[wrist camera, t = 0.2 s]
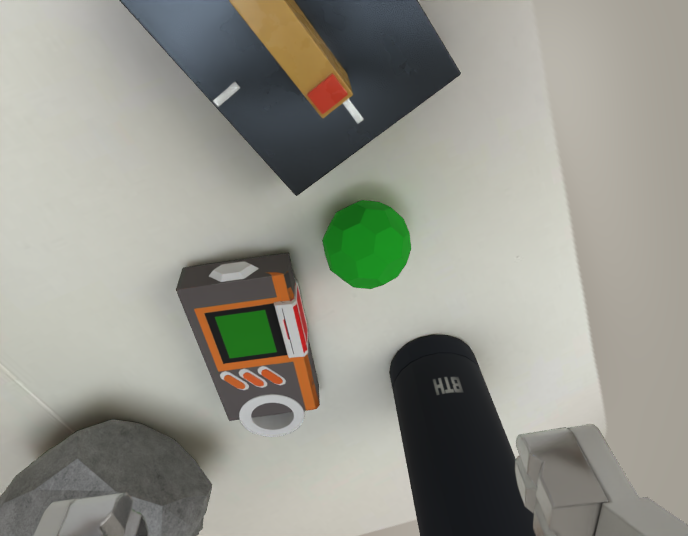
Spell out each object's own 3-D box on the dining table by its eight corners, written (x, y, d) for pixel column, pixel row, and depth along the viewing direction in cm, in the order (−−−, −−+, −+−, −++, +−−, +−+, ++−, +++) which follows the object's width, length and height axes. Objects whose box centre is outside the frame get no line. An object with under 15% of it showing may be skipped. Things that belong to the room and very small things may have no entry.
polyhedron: (344, 270, 33) (349, 317, 29) (307, 210, 31) (307, 252, 27) (415, 237, 32) (430, 281, 28) (383, 173, 30) (394, 210, 26)
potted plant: (250, 489, 40) (143, 622, 42) (148, 376, 44) (55, 503, 46) (141, 562, 28) (2, 739, 30) (16, 400, 32) (-99, 568, 34)
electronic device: (236, 445, 38) (172, 288, 29) (240, 412, 41) (182, 259, 32) (326, 432, 38) (289, 272, 29) (325, 401, 40) (290, 243, 32)
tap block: (129, -17, 24) (107, -11, 21) (296, -187, 21) (295, -205, 18) (297, 174, 29) (296, 198, 27) (447, 60, 26) (462, 75, 24)
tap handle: (238, -10, 22) (226, 0, 18) (267, -36, 21) (260, -31, 18) (320, 96, 24) (322, 121, 21) (348, 74, 24) (354, 96, 20)
